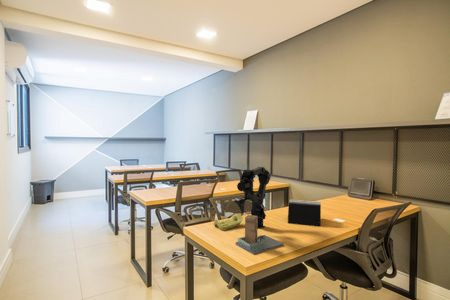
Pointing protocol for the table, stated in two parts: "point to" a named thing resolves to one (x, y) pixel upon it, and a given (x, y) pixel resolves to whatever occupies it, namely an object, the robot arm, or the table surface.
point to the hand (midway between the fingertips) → (248, 213)
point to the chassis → (259, 244)
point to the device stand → (304, 212)
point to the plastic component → (229, 222)
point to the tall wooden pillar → (251, 229)
